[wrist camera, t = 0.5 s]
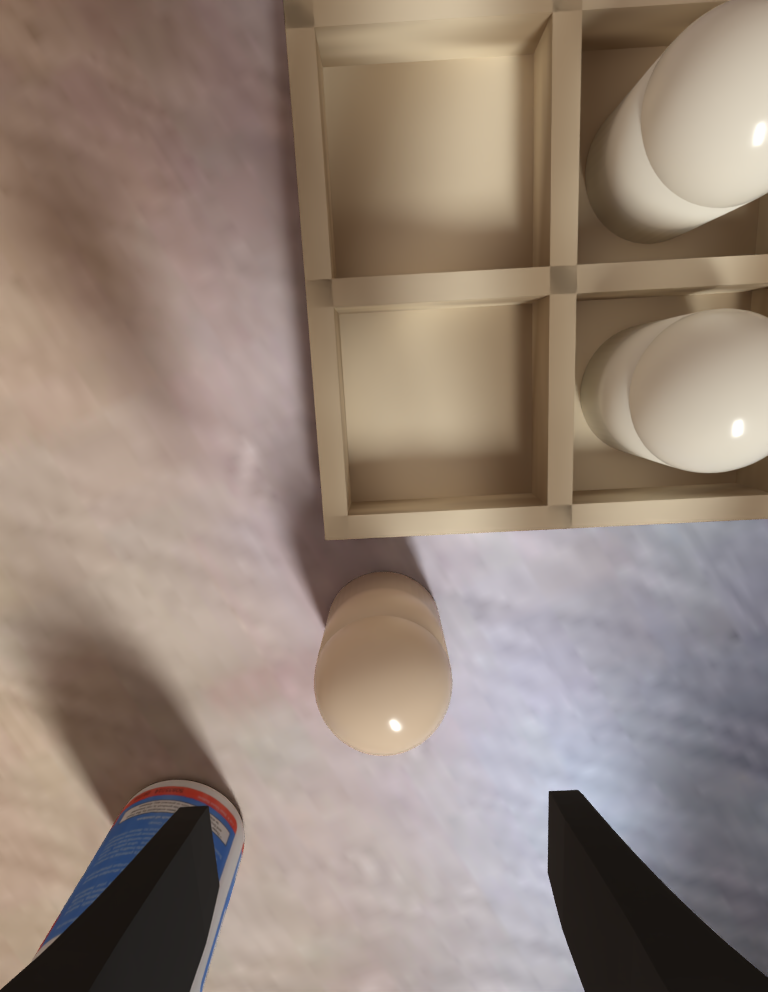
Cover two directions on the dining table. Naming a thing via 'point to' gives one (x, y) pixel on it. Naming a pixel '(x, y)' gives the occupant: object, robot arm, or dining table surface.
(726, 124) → the cream egg
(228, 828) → the pill bottle
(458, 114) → the caddy
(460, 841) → the dining table surface
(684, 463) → the cream egg
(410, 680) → the brown egg
